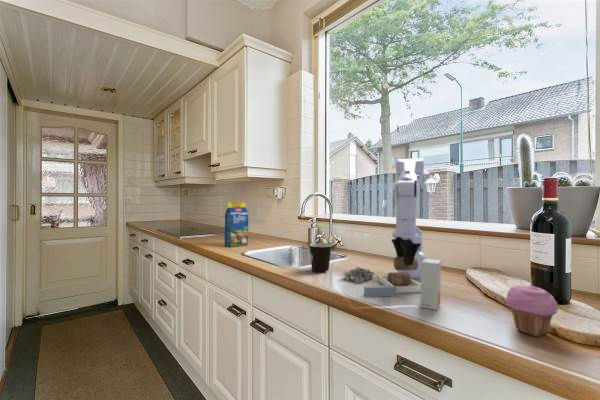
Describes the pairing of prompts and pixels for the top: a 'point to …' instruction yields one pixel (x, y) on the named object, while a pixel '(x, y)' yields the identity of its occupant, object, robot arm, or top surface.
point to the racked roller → (399, 278)
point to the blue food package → (236, 225)
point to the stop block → (379, 291)
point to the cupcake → (531, 309)
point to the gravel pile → (358, 275)
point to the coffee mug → (320, 257)
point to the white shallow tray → (410, 288)
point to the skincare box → (430, 283)
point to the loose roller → (401, 265)
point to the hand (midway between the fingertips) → (405, 263)
